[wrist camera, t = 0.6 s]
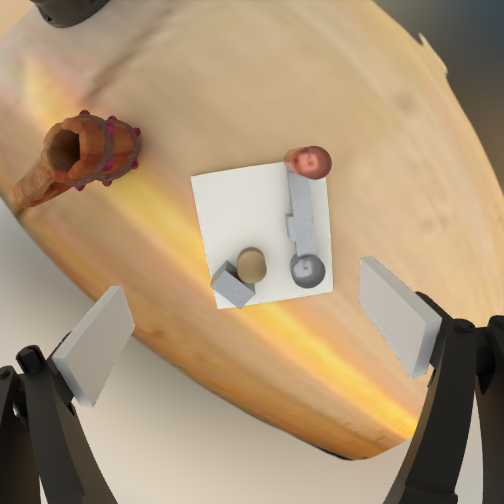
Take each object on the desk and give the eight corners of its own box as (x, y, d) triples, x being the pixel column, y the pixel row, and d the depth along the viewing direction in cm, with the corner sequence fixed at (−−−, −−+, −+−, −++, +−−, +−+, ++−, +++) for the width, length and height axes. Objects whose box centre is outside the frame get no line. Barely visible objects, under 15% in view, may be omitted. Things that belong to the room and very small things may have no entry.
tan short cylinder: (235, 249, 38) (235, 258, 34) (262, 245, 38) (264, 254, 34) (240, 274, 39) (239, 285, 35) (266, 270, 39) (268, 281, 35)
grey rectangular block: (212, 275, 39) (210, 286, 35) (226, 260, 38) (225, 270, 35) (240, 296, 40) (240, 309, 37) (254, 282, 39) (255, 293, 36)
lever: (322, 278, 38) (345, 318, 29) (291, 283, 39) (306, 325, 29) (309, 147, 33) (336, 144, 23) (274, 151, 33) (288, 148, 23)
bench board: (192, 176, 35) (189, 177, 34) (320, 157, 35) (324, 157, 33) (218, 305, 42) (217, 311, 40) (330, 287, 41) (334, 293, 40)
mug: (135, 108, 32) (78, 86, 18) (160, 157, 34) (111, 159, 20) (60, 164, 34) (-8, 176, 19) (82, 210, 36) (18, 239, 22)
